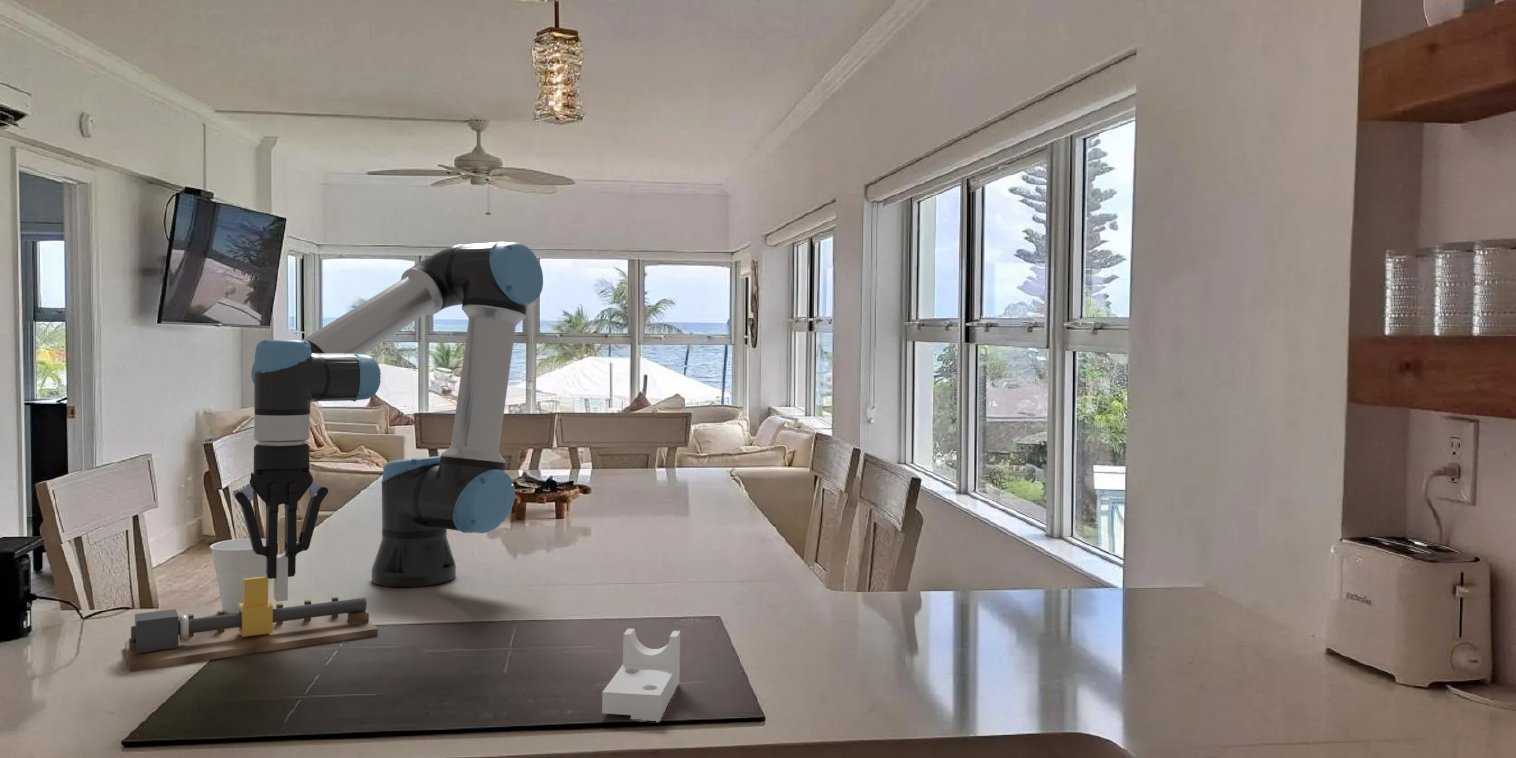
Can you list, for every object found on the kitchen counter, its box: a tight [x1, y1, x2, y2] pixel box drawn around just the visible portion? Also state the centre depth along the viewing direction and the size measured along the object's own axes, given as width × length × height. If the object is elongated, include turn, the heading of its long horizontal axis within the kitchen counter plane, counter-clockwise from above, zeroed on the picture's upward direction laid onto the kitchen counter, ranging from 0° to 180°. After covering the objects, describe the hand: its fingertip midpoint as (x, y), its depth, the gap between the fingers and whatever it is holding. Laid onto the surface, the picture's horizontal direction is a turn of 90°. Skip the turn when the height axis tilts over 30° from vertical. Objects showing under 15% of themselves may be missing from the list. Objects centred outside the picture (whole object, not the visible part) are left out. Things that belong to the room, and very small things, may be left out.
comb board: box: [124, 596, 379, 672], centre depth 144 cm, size 32×12×4 cm, turn 125°
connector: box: [134, 608, 189, 653], centre depth 138 cm, size 6×4×4 cm
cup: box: [209, 537, 270, 615], centre depth 161 cm, size 10×10×11 cm
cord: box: [130, 597, 367, 641], centre depth 144 cm, size 31×2×2 cm, turn 125°
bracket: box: [601, 628, 681, 723], centre depth 123 cm, size 13×7×8 cm, turn 174°
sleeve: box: [238, 576, 274, 637], centre depth 144 cm, size 4×4×8 cm
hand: (280, 598), depth 146 cm, fingers closed
